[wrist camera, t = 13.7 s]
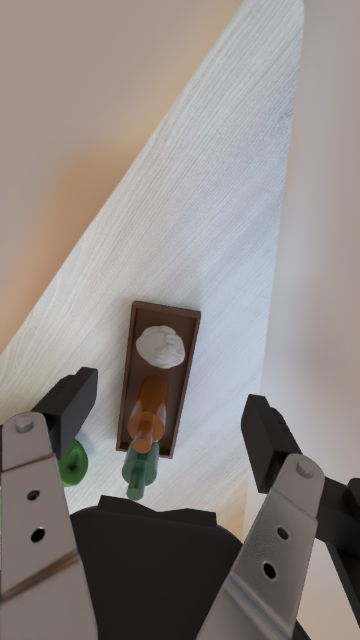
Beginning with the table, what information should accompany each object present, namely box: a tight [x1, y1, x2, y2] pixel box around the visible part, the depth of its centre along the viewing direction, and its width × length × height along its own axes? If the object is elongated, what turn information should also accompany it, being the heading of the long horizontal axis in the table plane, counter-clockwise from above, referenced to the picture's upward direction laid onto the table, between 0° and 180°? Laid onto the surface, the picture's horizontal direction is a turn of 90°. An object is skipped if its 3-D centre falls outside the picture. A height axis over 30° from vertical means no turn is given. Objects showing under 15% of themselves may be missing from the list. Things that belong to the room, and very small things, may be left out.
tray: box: [116, 301, 201, 459], centre depth 39 cm, size 27×10×2 cm, turn 170°
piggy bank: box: [0, 438, 88, 534], centre depth 37 cm, size 14×18×15 cm
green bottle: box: [122, 437, 161, 501], centre depth 37 cm, size 5×5×12 cm
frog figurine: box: [136, 325, 185, 369], centre depth 34 cm, size 6×7×7 cm
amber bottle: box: [128, 377, 169, 453], centre depth 34 cm, size 5×5×12 cm
